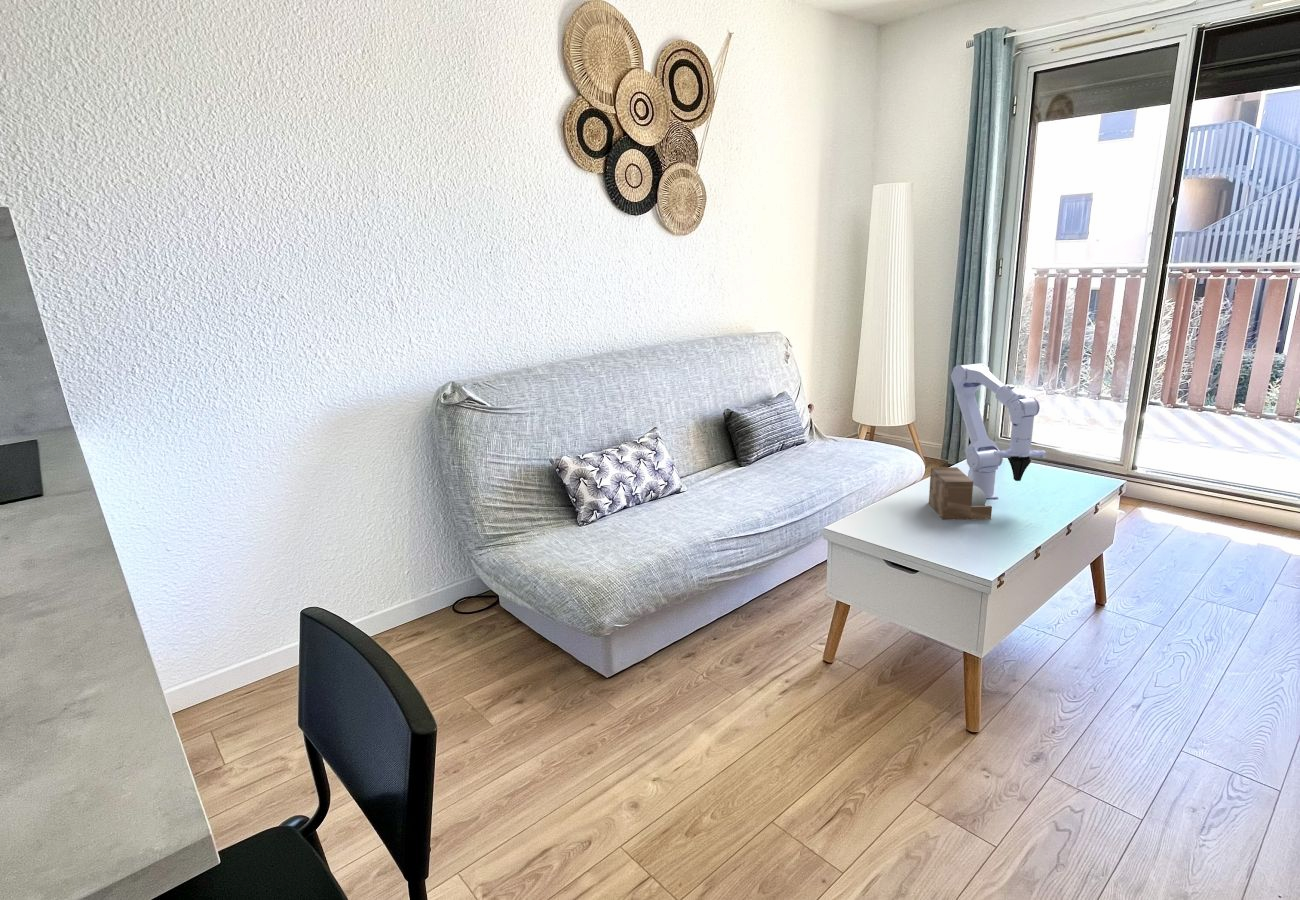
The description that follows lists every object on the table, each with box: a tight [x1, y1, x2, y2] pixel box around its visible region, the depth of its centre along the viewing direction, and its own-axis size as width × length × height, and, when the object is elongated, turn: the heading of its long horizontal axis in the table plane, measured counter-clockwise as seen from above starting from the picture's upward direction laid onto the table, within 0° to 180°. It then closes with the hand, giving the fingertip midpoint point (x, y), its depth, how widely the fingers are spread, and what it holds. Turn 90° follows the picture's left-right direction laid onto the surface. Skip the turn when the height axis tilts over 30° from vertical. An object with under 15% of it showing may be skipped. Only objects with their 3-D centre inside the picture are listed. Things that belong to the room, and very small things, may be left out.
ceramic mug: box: [971, 486, 987, 506], centre depth 216 cm, size 11×8×8 cm
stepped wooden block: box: [928, 466, 993, 521], centre depth 217 cm, size 15×14×12 cm
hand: (1017, 480), depth 216 cm, fingers closed
